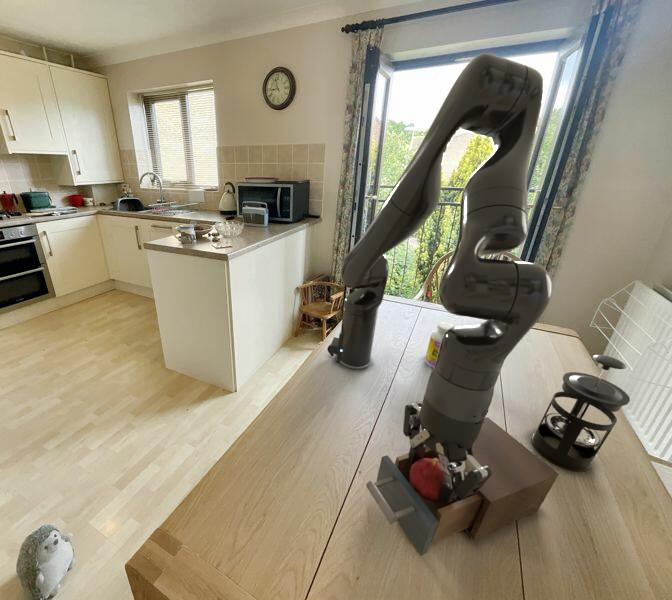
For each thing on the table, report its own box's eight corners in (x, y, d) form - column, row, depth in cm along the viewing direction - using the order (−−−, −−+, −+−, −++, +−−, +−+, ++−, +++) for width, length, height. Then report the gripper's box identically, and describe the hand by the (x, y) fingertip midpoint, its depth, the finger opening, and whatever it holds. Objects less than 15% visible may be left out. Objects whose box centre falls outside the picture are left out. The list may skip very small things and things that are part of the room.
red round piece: (448, 515, 48) (462, 481, 45) (409, 507, 49) (419, 474, 46) (438, 480, 53) (449, 448, 50) (403, 474, 54) (412, 442, 51)
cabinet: (472, 540, 49) (490, 502, 45) (416, 471, 60) (426, 435, 56) (537, 511, 53) (559, 473, 49) (473, 451, 64) (487, 416, 60)
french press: (586, 483, 58) (649, 386, 48) (525, 451, 64) (570, 359, 55) (594, 448, 65) (650, 357, 55) (538, 422, 71) (580, 336, 62)
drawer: (394, 567, 45) (404, 536, 42) (352, 494, 55) (357, 464, 52) (488, 526, 50) (503, 495, 47) (434, 465, 60) (443, 436, 57)
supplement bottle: (424, 367, 90) (434, 329, 85) (423, 355, 96) (433, 318, 90) (450, 373, 88) (462, 333, 82) (448, 360, 93) (459, 322, 88)
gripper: (398, 373, 48) (381, 449, 55) (481, 448, 36) (446, 534, 43) (436, 364, 50) (416, 438, 57) (528, 432, 38) (487, 517, 45)
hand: (429, 479), depth 50 cm, fingers closed on red round piece, 6 cm apart
